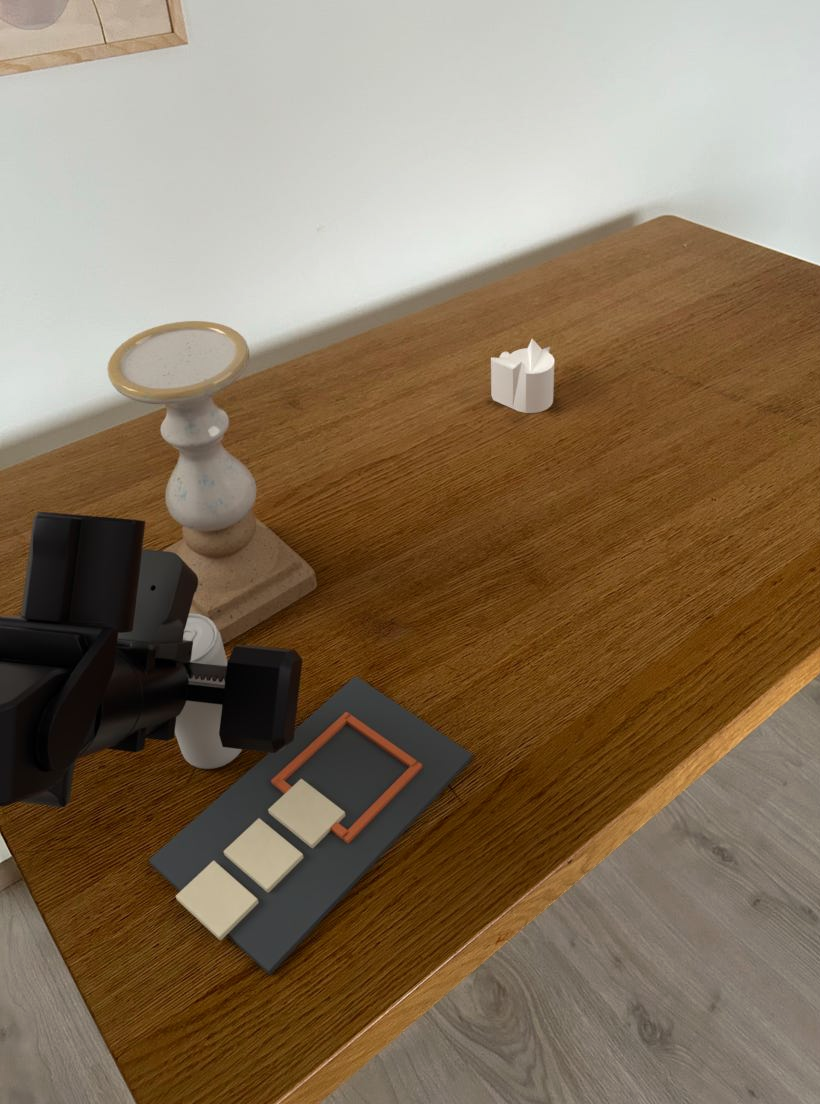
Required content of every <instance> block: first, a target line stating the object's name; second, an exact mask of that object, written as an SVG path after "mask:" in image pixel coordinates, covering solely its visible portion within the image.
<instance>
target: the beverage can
mask: <svg viewBox="0 0 820 1104" xmlns="http://www.w3.org/2000/svg"><path fill="white" fill-rule="evenodd" d="M183 640H188V641H193V647H192V655H191V661H190V662H198V663H206V664H215V665H224V666H227V662H228V659H227V654H226V651H225V647H224V644H223V643H222V639H221V635H220V632H219V631H218V629H217V628H216V626H215V624H214V623H213V621H212V620H210V619H209V618H207V617H205V616H202V615H199V614H189V616H188V619H187V623H186V627H185V630H184V635H183ZM188 680H189V681H193V682H202V683H210V684H219V685H225V681H224V679H223V681H222V682H219V680H218V678H217V680H216V681H213V680H212V678H211V680H209V681H207V679H206V677H205V679H204V680H201V678H200V676H199V679H195V678H194V676H193V678H191V679H189V677H188ZM221 713H222V705H220V704H211V703H203V702H194V701H186V704H185V706H184V708H183V710H182V712H181V713H180V715H179V716H177V717H176V725H175V733H174V735H175V737H176V740H177V743H178V746H179V749H180V752H181V755H182V756H183V758H184V760H185V761H186V762H187V763H188V764H190V766H193V767H195V768H198V769H205V770H211V769H218V768H221V767H224V766H226V765H227V764H228V765H229V764H230V763H231V762H233V761H234V760H235V759H236V758H237V757H238V756H239V755H240V754H241V752H242V751H243V749H235V748H226V747H223V746H222V743H221V740H220V736H219V730H220V721H221Z"/></svg>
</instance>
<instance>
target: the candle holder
mask: <svg viewBox="0 0 820 1104" xmlns="http://www.w3.org/2000/svg"><path fill="white" fill-rule="evenodd" d="M249 361H250V348H249V345H248V342H247V340H246V339H245V337H244V336H243V335H242V334H241V333H240V332H239V331H236V330H235V329H233V328H232V327H229V326H228V325H225V324H221V323H217V322H213V321H204V320H190V321H189V320H186V321H176V322H170V323H165V324H161V325H157V326H154V327H152V328H148V329H146V330H144V331H140V332H139V333H137V334H135V335H133V336H132V337H129V338H128V339H127V340H125V341H124V342H123V343H121V344H120V346H118V347H117V348H116V349H115V350H114V352H113V353H112V355H111V356H110V358H109V360H108V362H107V376H108V379H109V381H110V383H111V385H112V387H113V388H114V389H115V390H116V391H117V392H118V393H119V394H121V395H122V396H124V397H126V398H127V399H130V400H133V401H136V402H139V403H144V404H149V405H164V406H165V409H166V414H165V417H164V419H163V420H162V422H161V425H160V429H159V430H160V434H161V437H162V439H163V440H164V441H165V442H166V443H167V444H168V445H171V446H172V448H174V449H175V450H177V452H178V453H179V454H178V458H177V461H176V464H175V466H174V468H173V469H172V472H171V474H170V476H169V477H168V480H167V484H166V486H165V493H164V501H165V506H166V509H167V512H168V514H169V515H170V516H171V518H172V519H173V520H174V521H175V522H176V523H177V524H178V525H180V526H182V529H181V534H182V539H180V540H179V541H177V542H175V543H173V544H171V545H170V546H167V547H166V548H164V549H163V550H162V551H166V552H173V553H175V554H177V555H178V556H179V557H180V558H181V559H182V560H183V561H184V562H185V563H186V564H187V565H188V566H189V567H190V568H191V569H192V570H193V571H194V572H195V574H196V575H197V577H198V587H197V590H196V592H195V593H194V597H193V600H192V604H191V608H190V612H189V614H199V615H202V616H205V617H207V618H209V619H210V620H212V621H213V623H214V624H215V626H216V628H217V629H218V631H219V632H220V635H221V639H222V643H223V645H225V644H227V643H228V642H230V641H233V640H234V639H236V638H237V637H239V636H241V635H242V634H244V633H246V632H247V631H249V630H250V629H253V628H254V627H256V626H257V625H259V624H260V623H262V622H264V621H266V620H267V619H269V618H271V617H272V616H274V615H276V614H277V613H279V612H281V611H282V610H283V609H286V608H287V607H289V606H290V605H292V604H294V603H296V602H297V601H299V600H300V599H302V598H304V597H305V596H307V595H308V594H310V593H311V592H313V591H314V590H316V589H317V587H318V582H317V577H316V573H315V570H314V569H313V568H312V567H311V566H310V564H309V563H308V562H306V560H305V559H304V558H302V557H301V556H300V555H299V554H298V553H297V552H296V551H295V550H294V549H292V548H291V547H290V546H289V545H287V544H286V543H285V542H284V541H283V539H281V538H280V537H279V536H278V535H277V534H276V533H275V532H274V531H273V530H271V529H270V528H269V527H268V526H267V525H265V524H264V523H263V522H262V521H261V520H259V519H258V517H256V515H255V514H254V512H253V510H252V509H253V508H254V505H255V504H256V500H257V495H258V488H257V487H258V486H257V483H256V479H255V477H254V475H253V474H252V471H251V470H250V469H249V468H248V466H247V465H246V464H244V462H242V461H241V460H240V459H238V458H237V457H236V456H235V455H233V454H232V453H230V452H229V451H228V450H227V449H226V448H225V447H224V445H223V444H222V443H223V442H222V441H223V439H224V437H225V434H226V433H227V430H229V426H230V418H229V415H228V413H227V412H226V411H225V410H224V409H223V408H221V407H219V406H218V405H217V404H216V402H215V401H214V397H213V396H214V395H215V394H217V393H219V392H221V391H223V390H225V389H226V388H228V387H229V386H231V385H233V384H234V383H235V382H236V381H237V380H238V379H239V378H240V377H241V375H243V373H244V372H245V371H246V370H247V369H246V368H247V367H248V364H249Z"/></svg>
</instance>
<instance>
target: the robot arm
mask: <svg viewBox="0 0 820 1104" xmlns="http://www.w3.org/2000/svg"><path fill="white" fill-rule="evenodd" d="M146 523H147V520H140V519H132V518H119V517H109V516H108V517H107V516H98V515H97V516H96V515H95V516H94V515H85V514H83V515H82V514H74V513H73V514H72V513H61V512H60V513H59V512H50V511H49V512H48V511H37V514H33V519H32V526H31V535H30V541H29V549H28V556H27V564H26V573H25V580H24V586H23V595H22V603H21V612H20V614H18V615H17V614H16V615H6V616H2V615H0V808H1V807H8V806H11V805H13V804H16V803H23V804H31V805H40V806H47V807H54V808H55V807H57V808H65V807H67V806H68V805H69V803H70V801H71V794H72V787H73V780H74V779H73V778H74V769H75V764H76V761H77V760H78V759H81V758H84V757H87V756H90V755H93V754H96V753H99V752H103V751H105V750H113V751H121V752H128V753H139V752H141V751H144V750H145V748H146V747H145V746H146V739H148V740H157V741H162V742H163V741H165V742H168V741H171V740H174V739H175V725H176V717H177V716H179V715H180V713H181V712H182V710H183V708H184V706H185V704H186V701H194V702H203V703H211V704H220V705H222V713H221V721H220V730H219V736H220V740H221V743H222V746H223V747H226V748H235V749H242V751H252V752H259V753H266V754H268V753H276V752H278V751H280V750H282V749H284V748H285V747H286V746H287V745H289V744H290V743H291V742H292V741H293V740H294V731H295V729H296V720H297V712H298V702H299V694H300V685H301V677H302V666H303V658H302V657H301V655H300V654H299V652H298V651H297V650H296V649H293V648H283V647H274V646H265V645H256V644H254V645H253V644H251V645H250V644H239V645H234V646H233V648H232V651H231V652H230V655H229V657H228V659H227V666H224V665H215V664H206V663H198V662H190V661H191V655H192V647H193V641H188V640H183V635H184V630H185V627H186V623H187V619H188V616H189V612H190V608H191V604H192V600H193V597H194V593H195V592H196V590H197V587H198V577H197V575H196V574H195V572H194V571H193V570H192V569H191V568H190V567H189V566H188V565H187V564H186V563H185V562H184V561H183V560H182V559H181V558H180V557H179V556H178V555H177V554H175V553H173V552H166V551H163V550H155V549H146V548H145V549H144V538H145V531H146V530H145V529H146ZM193 676H194V678H195V679H199V676H200V678H201V680H204V679H205V677H206V679H207V681H209V680H211V678H212V680H213V681H216V680H217V678H218V680H219V682H222V681H223V679H224V681H225V685H219V684H210V683H202V682H193V681H189V680H188V677H189V679H191V678H193Z"/></svg>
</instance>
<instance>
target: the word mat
mask: <svg viewBox="0 0 820 1104" xmlns="http://www.w3.org/2000/svg"><path fill="white" fill-rule="evenodd" d="M473 759H474V755H473V753H472V752H470V751H469V750H467V749H465V748H464V747H462V746H461V745H459V743H456V742H455V741H453V740H452V739H451V738H449V737H447V736H446V735H444V734H443V733H442V732H440V731H439V730H437V729H436V728H434V727H432V726H431V725H430V724H428V723H427V722H426V721H424V720H422V719H421V718H419V717H418V716H416V715H415V714H413V713H412V712H410V711H409V710H407V709H406V708H404V707H403V706H402V705H400V704H398V703H397V702H396V701H393V700H392V699H391V698H390V697H388V696H387V695H385V694H383V693H382V692H380V691H379V690H378V689H376V688H374V687H373V686H371V684H369V683H367V682H366V681H364V680H363V679H361V678H359V677H358V676H356V675H354V676H353V677H352V678H351V679H350V680H348V682H347V683H346V684H344V685H343V686H342V687H341V688H340V689H338V691H336V693H334V694H333V695H332V696H331V697H330V698H329V699H327V700H326V701H325V702H324V703H323V704H322V705H321V706H320V707H319V708H318V709H316V710H315V711H314V712H313V713H312V714H311V715H310V716H309V717H307V718H306V719H305V720H304V721H303V722H302V723H300V725H298V726H297V727H295V731H294V740H293V741H292V742H291V743H290V744H289V745H287V746H286V747H285V748H284V749H282V750H280V751H278V752H276V753H266V755H264V756H263V757H262V758H261V759H260V760H259V761H258V762H257V763H256V764H254V765H253V766H252V767H251V768H250V769H249V770H248V771H247V772H245V773H244V775H242V776H241V777H240V778H239V779H238V780H236V781H235V782H234V783H233V784H232V785H231V786H229V788H228V789H226V790H225V791H224V792H223V793H222V794H221V795H220V796H219V797H218V798H216V799H215V800H214V801H213V802H212V803H210V804H209V805H208V806H207V807H206V808H205V809H204V810H202V811H201V812H200V813H199V814H198V815H197V816H196V817H195V818H194V819H192V820H191V822H189V823H188V824H187V825H186V826H185V827H184V828H183V829H181V831H179V833H177V834H175V836H173V837H172V839H170V840H169V841H168V842H167V843H166V844H165V845H163V847H162V848H160V849H159V850H157V852H156V853H155V854H153V855H152V856H151V857H150V858H148V862H149V864H150V866H151V867H152V868H154V869H155V870H156V872H158V873H159V874H160V875H161V876H162V877H163V878H164V879H165V880H166V881H167V882H168V883H170V884H171V885H172V887H174V888H175V889H176V890H177V891H178V893H177V894H176V895H175V898H176V901H177V902H178V903H179V904H180V905H182V906H183V907H184V908H185V910H187V911H188V912H189V913H190V914H191V915H192V916H193V917H194V918H196V920H197V921H199V922H200V923H201V924H202V925H203V927H205V928H206V929H207V930H208V931H209V932H210V933H212V935H214V937H216V938H217V939H218V940H219V941H222V940H223V939H224V938H225V937H226V936H227V937H228V938H229V939H230V940H231V941H232V942H233V943H234V944H235V945H236V946H237V947H238V948H240V949H241V950H242V951H243V952H244V953H245V954H246V955H247V956H248V957H249V958H250V959H251V960H252V961H254V963H256V964H257V965H258V966H259V967H260V968H261V969H262V971H264V972H265V973H266V974H267V975H268V976H272V974H273V973H275V971H276V970H277V969H278V967H280V965H282V964H283V962H284V961H285V960H286V959H288V957H289V956H290V955H291V954H292V953H293V952H294V951H295V949H297V947H298V946H299V945H301V943H302V942H303V941H304V940H305V939H306V938H307V937H308V935H310V934H311V932H312V931H313V930H314V929H315V928H316V927H317V926H318V925H319V924H320V923H321V922H322V921H323V919H324V918H326V916H327V915H328V914H329V913H330V912H331V911H332V910H333V909H334V908H335V907H336V906H337V905H338V904H339V902H341V901H342V899H343V898H345V896H346V895H347V894H348V893H349V892H350V891H351V890H352V888H354V887H355V885H356V884H357V883H358V882H360V880H361V879H362V878H363V877H364V876H365V875H366V874H367V872H368V871H369V870H371V868H373V866H374V865H375V864H376V863H377V862H378V861H379V860H380V859H381V858H382V857H383V855H385V854H386V852H388V850H389V849H390V848H391V847H392V846H393V845H394V844H395V843H396V842H397V841H398V840H399V839H400V838H401V836H402V835H403V834H404V833H405V832H406V831H407V830H408V829H409V828H410V827H411V826H412V825H413V824H414V822H416V820H417V819H418V818H419V817H420V816H421V815H422V814H423V813H424V812H425V811H426V810H427V808H428V807H429V806H430V805H431V804H432V803H433V802H434V801H435V800H436V799H437V798H438V797H439V796H440V795H441V794H442V793H443V792H444V791H445V789H446V788H447V787H449V785H450V784H451V783H452V782H453V781H454V779H456V778H457V777H458V776H459V774H460V773H461V772H462V771H464V769H465V768H466V767H467V766H468V765H469V764H470V763H471V761H472V760H473Z"/></svg>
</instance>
